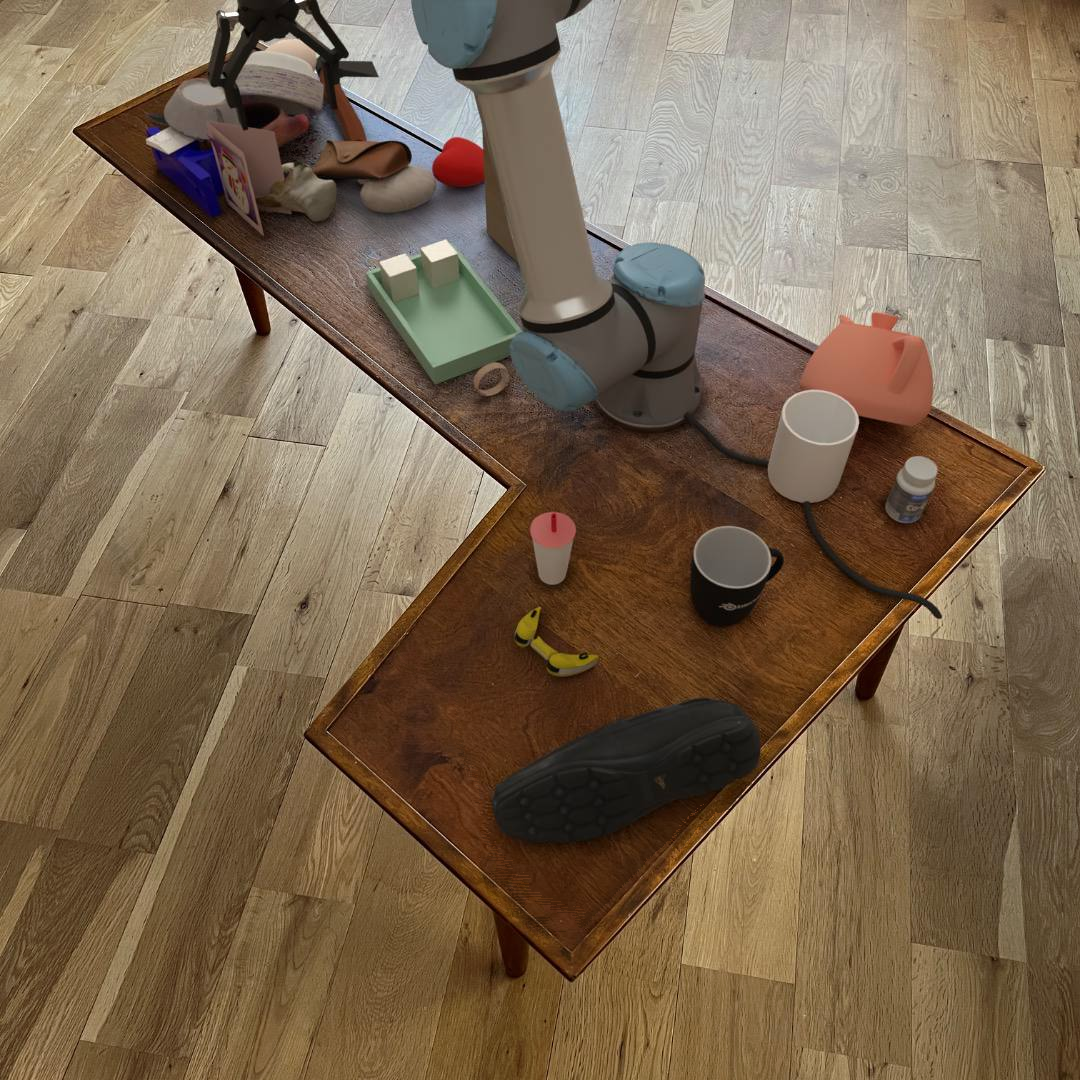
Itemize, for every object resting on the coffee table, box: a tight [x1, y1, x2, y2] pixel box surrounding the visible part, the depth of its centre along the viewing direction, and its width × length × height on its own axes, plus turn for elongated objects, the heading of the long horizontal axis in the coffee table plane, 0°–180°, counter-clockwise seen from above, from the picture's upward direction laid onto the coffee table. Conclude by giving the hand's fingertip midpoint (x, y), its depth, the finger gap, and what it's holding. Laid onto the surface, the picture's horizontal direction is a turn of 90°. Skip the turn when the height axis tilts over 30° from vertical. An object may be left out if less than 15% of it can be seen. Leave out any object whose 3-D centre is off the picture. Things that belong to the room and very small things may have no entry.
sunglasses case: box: [311, 139, 413, 180], centre depth 181 cm, size 18×7×7 cm
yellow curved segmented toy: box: [513, 606, 600, 678], centre depth 127 cm, size 10×6×4 cm, turn 45°
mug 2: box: [767, 390, 860, 504], centre depth 141 cm, size 10×12×12 cm
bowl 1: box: [163, 77, 241, 141], centre depth 179 cm, size 13×13×5 cm
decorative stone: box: [359, 165, 438, 214], centre depth 178 cm, size 13×9×5 cm
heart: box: [431, 136, 485, 188], centre depth 183 cm, size 12×5×10 cm
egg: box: [264, 38, 317, 73], centre depth 198 cm, size 9×9×11 cm
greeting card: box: [206, 121, 293, 237], centre depth 173 cm, size 11×7×15 cm, turn 40°
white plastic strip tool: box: [145, 126, 196, 154], centre depth 180 cm, size 5×15×1 cm, turn 145°
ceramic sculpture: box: [253, 160, 337, 222], centre depth 177 cm, size 11×9×15 cm
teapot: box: [799, 311, 934, 427], centre depth 145 cm, size 25×17×13 cm
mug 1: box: [689, 525, 785, 628], centre depth 129 cm, size 12×9×10 cm
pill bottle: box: [884, 455, 939, 524], centre depth 138 cm, size 5×5×8 cm
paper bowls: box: [236, 50, 324, 117], centre depth 189 cm, size 15×15×8 cm
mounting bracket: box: [145, 125, 225, 219], centre depth 181 cm, size 18×7×6 cm
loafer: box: [491, 697, 762, 844], centre depth 116 cm, size 10×29×10 cm
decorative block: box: [481, 126, 519, 265], centre depth 166 cm, size 11×6×20 cm, turn 32°
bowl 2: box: [243, 102, 310, 149], centre depth 186 cm, size 16×13×8 cm
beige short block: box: [378, 252, 419, 303], centre depth 164 cm, size 4×4×5 cm
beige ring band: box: [473, 361, 511, 397], centre depth 152 cm, size 3×5×5 cm, turn 118°
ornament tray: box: [365, 242, 523, 385], centre depth 162 cm, size 24×15×3 cm, turn 29°
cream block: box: [419, 239, 460, 289], centre depth 166 cm, size 4×4×5 cm
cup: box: [529, 511, 577, 586], centre depth 131 cm, size 5×5×12 cm
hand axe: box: [315, 55, 380, 141], centre depth 197 cm, size 12×3×30 cm
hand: (288, 115), depth 162 cm, fingers open, 13 cm apart
